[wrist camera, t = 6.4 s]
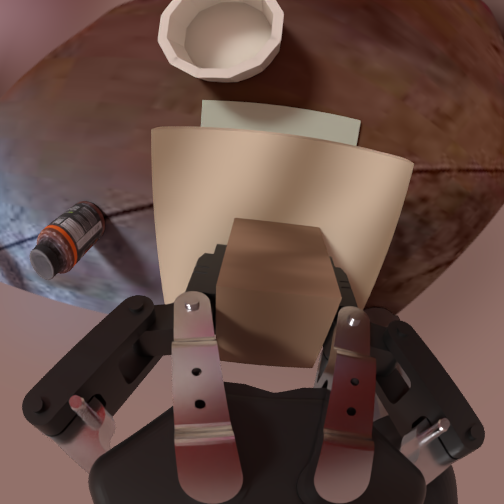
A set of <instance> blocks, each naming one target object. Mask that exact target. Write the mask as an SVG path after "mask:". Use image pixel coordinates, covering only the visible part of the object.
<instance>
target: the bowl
mask: <svg viewBox="0 0 504 504" xmlns="http://www.w3.org/2000/svg"><path fill="white" fill-rule="evenodd" d="M283 17H284V13H283V11H282V9H281V8H280V6H279V5H278V3H277V1H276V0H173V1H172V2H171V3H170V4H169V5H168V7H167V8H166V9H165V11H164V12H163V13H162V15H161V20H160V27H159V34H158V43H159V44H160V46H161V48H162V50H163V52H164V54H165V55H166V57H167V59H168V61H169V63H170V64H171V65H173V66H175V67H177V68H179V69H181V70H183V71H185V72H187V73H189V74H190V75H192V76H194V77H196V78H200V79H203V80H206V81H212V82H239V81H242V80H245V79H248V78H251V77H253V76H255V75H257V74H258V73H260V72H262V71H263V70H264V69H265V68H266V67H267V66H268V65H269V64H270V63H271V62H272V60H273V59H274V58H275V56H276V55H277V54H278V52H279V49H280V43H281V36H282V27H283Z"/></svg>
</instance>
